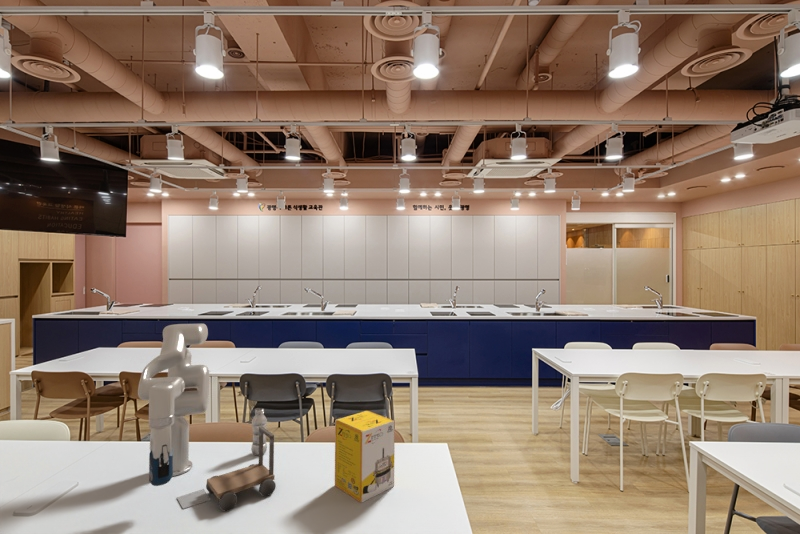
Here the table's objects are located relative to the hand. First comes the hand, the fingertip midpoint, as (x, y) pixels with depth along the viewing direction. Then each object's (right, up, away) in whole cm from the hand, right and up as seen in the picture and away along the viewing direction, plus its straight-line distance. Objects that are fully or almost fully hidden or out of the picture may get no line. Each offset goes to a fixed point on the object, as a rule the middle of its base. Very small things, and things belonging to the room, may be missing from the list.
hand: (161, 471), depth 137 cm
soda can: (0, -3, 0) cm, 3 cm away
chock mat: (+8, -13, +7) cm, 17 cm away
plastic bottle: (+18, -14, +44) cm, 49 cm away
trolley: (+23, -14, +11) cm, 29 cm away
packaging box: (+68, -14, +17) cm, 72 cm away
